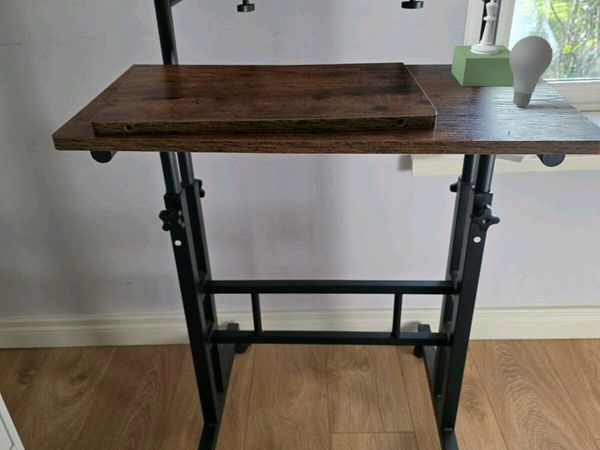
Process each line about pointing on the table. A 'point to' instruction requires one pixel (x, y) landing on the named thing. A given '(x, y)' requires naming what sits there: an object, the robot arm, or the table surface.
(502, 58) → the green block
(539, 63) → the lightbulb
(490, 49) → the chess piece
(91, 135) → the table surface
